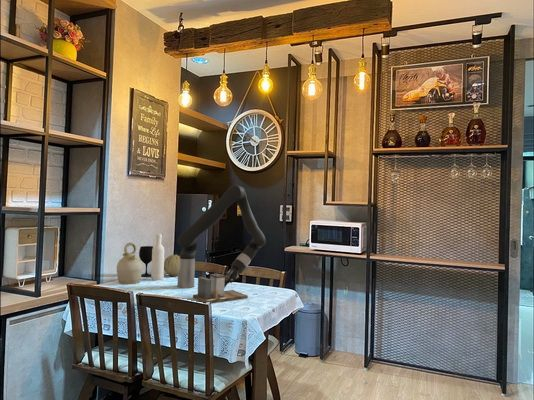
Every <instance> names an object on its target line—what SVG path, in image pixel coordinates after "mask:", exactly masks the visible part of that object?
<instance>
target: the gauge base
mask: <svg viewBox="0 0 534 400" xmlns="http://www.w3.org/2000/svg"><path fill="white" fill-rule="evenodd" d="M192 298H193V299H195V300H197V301H200V302H201V301H202V302H201V303H203V302H210V303H211V304H217V302H218V303H224V302H231V301H238V300H239V301H240V300H245V299H249V295H247V294H244V293H242V292H239V291H236V290H234V289H230V290H229V289H228V290H224V296H221V297H218V298H214V296H212V295H211V299H203V298H201V297H199V296H198V293H196V294H192Z"/></svg>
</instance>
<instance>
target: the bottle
mask: <svg viewBox="0 0 534 400" xmlns="http://www.w3.org/2000/svg"><path fill="white" fill-rule="evenodd" d="M162 237H163V236H162V233H156V234H155V245H154V246H153V249H152V261H151V273H150V274H151V277H150V278H151V279H152V280H151V279H150V280H151V281H155V280H159V281H163V280H164V277H165V274H164V273H165V271H164V261H165V247H164V246H163V244H162V241H163V240H162Z"/></svg>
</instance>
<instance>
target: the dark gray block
mask: <svg viewBox="0 0 534 400" xmlns="http://www.w3.org/2000/svg"><path fill="white" fill-rule="evenodd" d="M197 294H198V296H199V297H201V298H203V299H211V279H210V278H207V277H205V276H199V277H198V278H197Z"/></svg>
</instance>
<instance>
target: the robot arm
mask: <svg viewBox="0 0 534 400" xmlns="http://www.w3.org/2000/svg"><path fill="white" fill-rule="evenodd" d="M247 197H248V196H247V192H246V190H245V188H244V187H243V186H241V185H238V184H232V185H231V186H229V187H228V189H227V190H226V191H225V192H224V193H223V194H222V196H220V198H219V199H218V200H217V201H215V202H214V203H212V205H211V206H210V207H209V208H207V210H205V211H204V212H203V214H202V215H200V217H199V218H198V219H197V220H195V222H194V223H193V224H192V225H191V226H190V227H189V228H187V229H186V230H184V231H183V232H182V233H181V234H180V235H179V236H178V238H177V243H178V245H179V246H180V247H181V248H182V250H181V252H180V253H179V256H180V265H179V271H178V276H177V287H178V288H180V289H182V288H183V289H192V288H194V287H195V275H196V274H195V273H196V272H195V271H196V270H195V269H196V268H195V267H196V254H197V247H198V237H199V236H200V235H201V234H203V233H204V232H205V231H208V230H209V229H210V228H212V227H214V225H216V224H217V223H218V221H220V220H221V218H222V217H223V215H224V214H225V213H226V210H227V209H228V208H229V207H230V206H232V204H234V203H236V204H237V206H238V207H239V210H240V214H241V219H242V222H243V224H244V227H245V229H246V231H247V233H248V234H250V235H251V237H252V239H251V240H250V241H249V243H248V244H247V246H246V247H245V248H244V250H243V251H242V252H241V253H240V254H239V255H238V256H237V257H236V258H235V260H234V261H233V262H232V263H231V265H230V268H229V270H228V271H227V270H225V271H224V274H223V275H225V284H224V289H225V288H226V287H227V286H228V284H232V283H234V282H235V281H237V280H239V279H240V276H239V275H240V274H242V273H243V272H244V271H245V270H246V269H247V268H248V266H249V265H250V263H251V261H252V260H253V259H254V258H255V256H256V255H257V253H258V252H259V250H260V249H261V248H262V247H264V246H265V245H266V242H267V240H266V236H265V234H264V233H263V231H262V230H261V229H260V227H259V225H258V223H257V220H256V218H255V216H254V214H253V212H252V209H251V207H250V203H249V200H248V198H247Z"/></svg>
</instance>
